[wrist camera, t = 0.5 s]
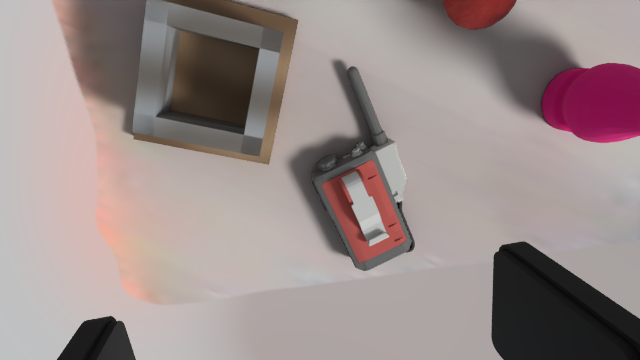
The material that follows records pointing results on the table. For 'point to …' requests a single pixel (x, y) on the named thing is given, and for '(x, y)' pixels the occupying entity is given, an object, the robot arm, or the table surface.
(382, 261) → the walkie-talkie
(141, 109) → the socket
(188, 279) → the table surface
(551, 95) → the pepper mill
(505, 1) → the onion
